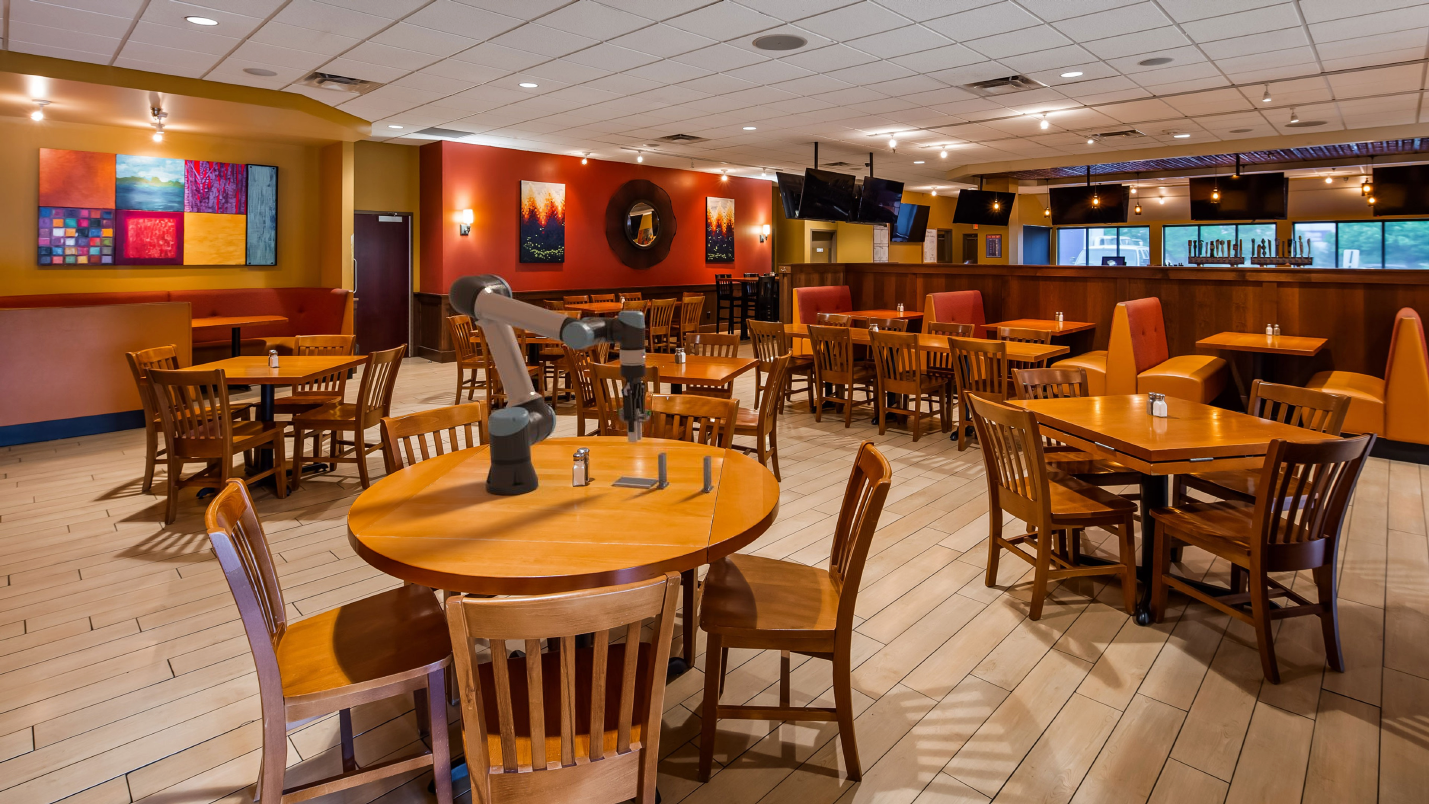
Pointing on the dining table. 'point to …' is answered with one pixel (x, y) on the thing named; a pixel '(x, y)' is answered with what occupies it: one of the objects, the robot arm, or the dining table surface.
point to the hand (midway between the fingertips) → (635, 440)
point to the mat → (636, 482)
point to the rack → (663, 473)
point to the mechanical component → (646, 415)
